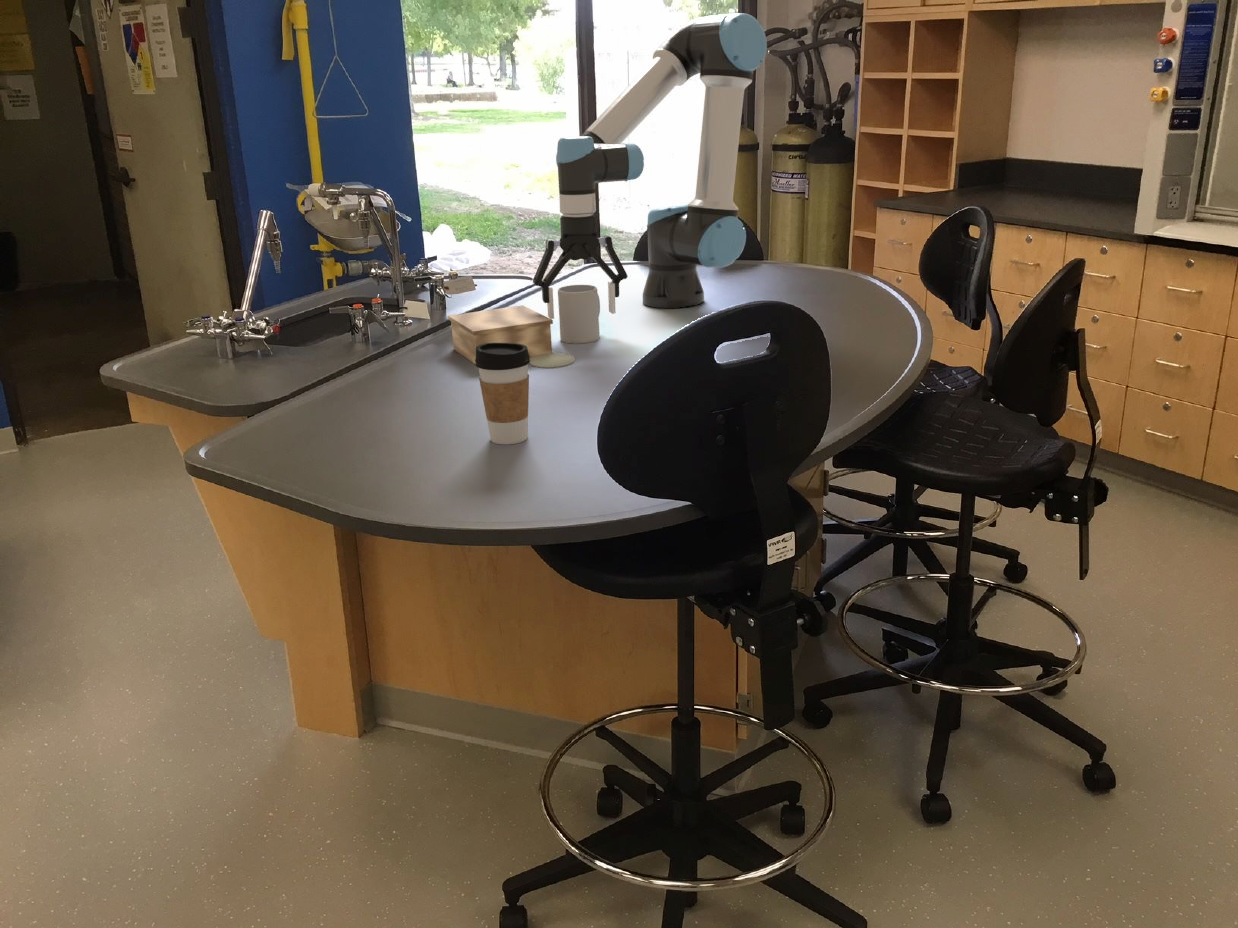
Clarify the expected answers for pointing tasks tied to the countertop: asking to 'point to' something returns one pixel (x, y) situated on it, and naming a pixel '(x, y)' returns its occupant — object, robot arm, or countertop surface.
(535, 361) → the felt coaster
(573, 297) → the mug
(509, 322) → the maple box
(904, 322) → the countertop surface
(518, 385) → the coffee cup
